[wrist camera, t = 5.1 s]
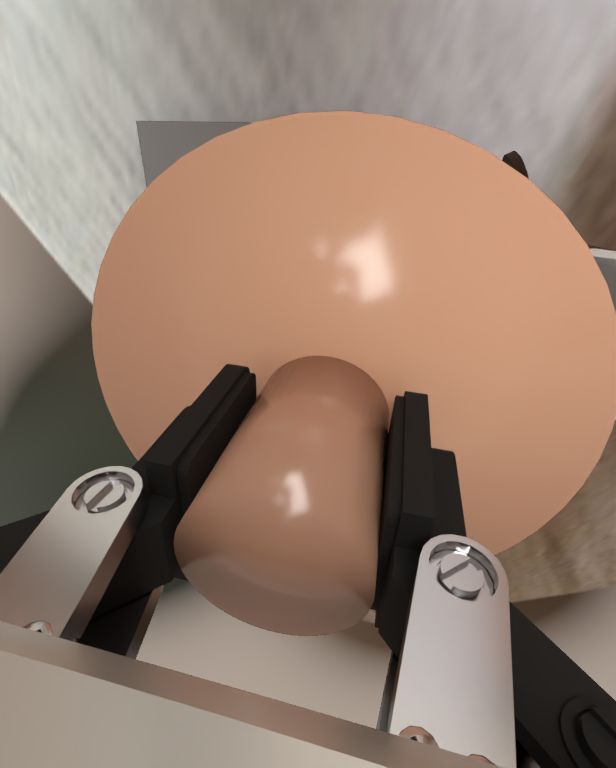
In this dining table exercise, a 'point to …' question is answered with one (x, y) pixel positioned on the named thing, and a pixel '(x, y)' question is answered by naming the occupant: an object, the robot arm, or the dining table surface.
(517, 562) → the dining table surface
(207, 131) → the mat
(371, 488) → the lid
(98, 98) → the dining table surface
